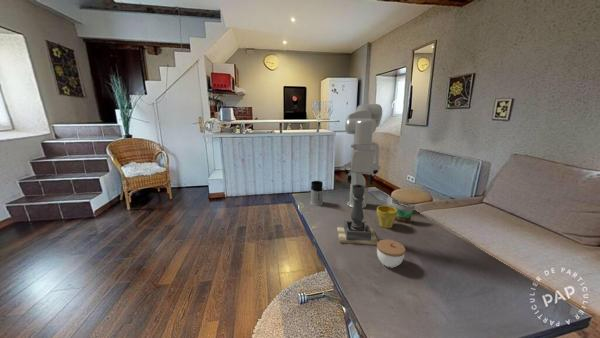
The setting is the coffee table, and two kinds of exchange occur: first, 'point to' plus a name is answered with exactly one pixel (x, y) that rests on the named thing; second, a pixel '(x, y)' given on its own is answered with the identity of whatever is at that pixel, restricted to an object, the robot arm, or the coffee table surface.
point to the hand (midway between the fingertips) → (360, 183)
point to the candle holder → (357, 208)
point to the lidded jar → (390, 253)
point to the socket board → (356, 234)
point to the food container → (403, 212)
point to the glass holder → (317, 193)
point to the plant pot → (386, 216)
